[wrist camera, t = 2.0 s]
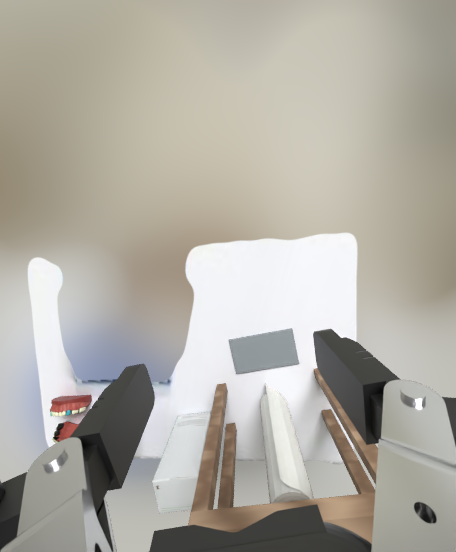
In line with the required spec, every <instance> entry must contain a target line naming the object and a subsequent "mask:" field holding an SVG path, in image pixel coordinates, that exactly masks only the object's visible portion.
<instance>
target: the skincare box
mask: <svg viewBox="0 0 456 552" xmlns="http://www.w3.org/2000/svg"><path fill="white" fill-rule="evenodd" d="M210 417H211V414H210V412H205V413H197V414H188V415H180V416H178V417H177V420H176V422H175V425H174V428H173V430H172V433H171V435H170V438H169V440H168V443H167V446H166V448H165V451H164V453H163V456H162V458H161V461H160V463H159V466H158V469H157V471H156V473H155V476H154V478H153V480H152V484H153V488H154V492H155V496H156V500H157V505H158V509H159V513H167V512H177V511H187V510H191V509H192V504H193V499H194V494H195V490H196V485H197V480H198V475H199V470H200V465H201V461H202V456H203V451H204V446H205V441H206V436H207V432H208V427H209V422H210Z"/></svg>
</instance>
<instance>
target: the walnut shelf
mask: <svg viewBox="0 0 456 552" xmlns="http://www.w3.org/2000/svg"><path fill="white" fill-rule="evenodd" d="M314 372H315V378H316V379H317V381H318V383H319V385H320V386H321V388H322V390H323V392H324V394H325V395H326V397H327V399H328V401H329V402H330V404H331V406H332V408H333V409H334V411H335V413H336V415H337V417H338V418H339V420H340V422H341V424H342V425H343V427H344V429H345V431H346V433H347V434H348V436H349V438H350V440H351V441H352V443H353V445H354V447H355V449H356V450H357V452H358V454H359V456H360V457H361V459H362V461H363V463H364V465H365V466H366V468H367V470H368V472H369V473H370V475H371V477H372V479H373V480H374V482H375V484H376V474H377V459H378V448H377V447H376V445H375V444H370V445H366V443H365V442H364V440H363V439H362V437H361V436H360V434H359V433H358V431H357V430H356V428H355V427H354V425H353V423H352V422H351V420H350V419H349V417H348V416H347V414H346V413H345V411H344V410H343V408H342V407H341V405H340V404H339V402H338V401H337V399H336V398H335V396H334V394H333V393H332V391H331V390H330V388H329V387H328V385H327V384H326V382H325V381H324V379H323V378H322V376H321V374H320V372H319V370H318V368H317V369H314ZM227 392H228V391H227V387H226V383H224V384H218V385H217V388H216V393H215V398H214V403H213V407H212V412H211V417H210V422H209V427H208V432H207V436H206V441H205V446H204V451H203V456H202V461H201V465H200V470H199V475H198V480H197V485H196V490H195V494H194V499H193V504H192V509H191V514H190V519H189V523H188V525H198V526H203V527H208V528H213V529H218V530H223V531H228V532H238V531H241V530H242V529H244V528H246V527H248V526H250V525H252V524H253V523H255V522H257V521H259V520H261V519H263V518H264V517H266V516H268V515H270V514H272V513H274V512H276V511H279V510H285V509H291V508H297V507H303V506H309V505H315V504H317V505H318V508H319V511H320V514H321V517H322V520H323V522H328V523H332V524H335V525H338V526H341V527H344V528H346V529H348V530H350V531H352V532H354V533H356V534H358V535H359V536H361V537H362V538H364V539H366V540H367V541H369V542H370V543H371V544H372V535H373V520H374V505H375V489H374V487H373V486H372V484H371V482H370V480H369V478H368V476H367V475H366V473H365V471H364V469H363V467H362V466H361V464H360V462H359V460H358V458H357V456H356V454H355V453H354V451H353V449H352V447H351V445H350V444H349V442H348V440H347V438H346V436H345V434H344V433H343V431H342V429H341V427H340V425H339V423H338V422H337V420H336V418H335V416H334V414H333V412H332V411H331V409H330V410H323V411H322V415H323V419H324V421H325V423H326V426H327V428H328V430H329V432H330V434H331V436H332V438H333V440H334V443H335V445H336V447H337V449H338V451H339V453H340V455H341V457H342V460H343V462H344V464H345V466H346V468H347V470H348V472H349V474H350V477H351V478H352V481H353V483H354V485H355V487H356V489H357V491H358V493H359V494H358V495H349V496H340V497H339V496H338V497H329V498H320V499H310V500H300V501H291V502H281V503H271V504H263V505H252V506H243V507H233V499H234V476H235V455H236V433H237V430H236V426H235V423H231V424H226V433H225V443H224V452H223V462H222V472H221V481H220V490H219V500H218V509H214V510H213V505H214V497H215V489H216V481H217V473H218V465H219V456H220V448H221V440H222V432H223V424H224V416H225V408H226V400H227Z"/></svg>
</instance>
